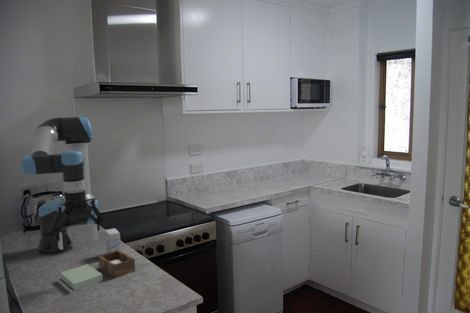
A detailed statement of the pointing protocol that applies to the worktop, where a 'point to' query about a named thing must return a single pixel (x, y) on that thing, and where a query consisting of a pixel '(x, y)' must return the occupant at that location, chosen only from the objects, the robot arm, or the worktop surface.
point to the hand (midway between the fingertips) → (78, 243)
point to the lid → (81, 276)
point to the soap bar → (116, 261)
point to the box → (120, 268)
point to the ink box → (112, 240)
